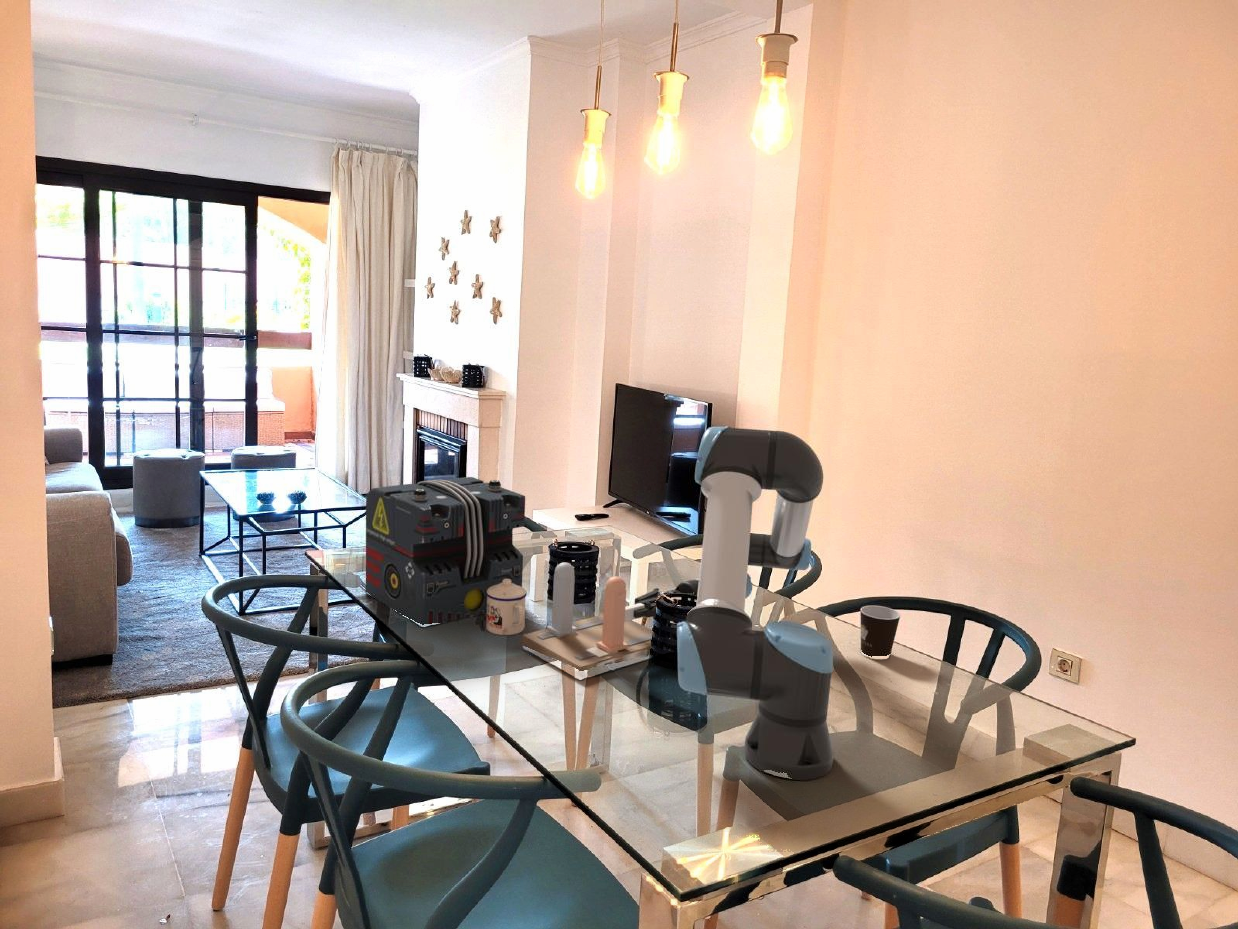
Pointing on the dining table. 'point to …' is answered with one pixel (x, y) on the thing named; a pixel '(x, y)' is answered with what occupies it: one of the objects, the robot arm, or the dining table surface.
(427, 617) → the power unit
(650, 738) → the dining table surface
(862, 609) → the coffee mug
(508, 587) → the teacup with lid
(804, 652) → the robot arm
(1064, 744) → the dining table surface
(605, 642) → the pink rounded post
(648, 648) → the light wood flat board
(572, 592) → the grey tall rounded bar
